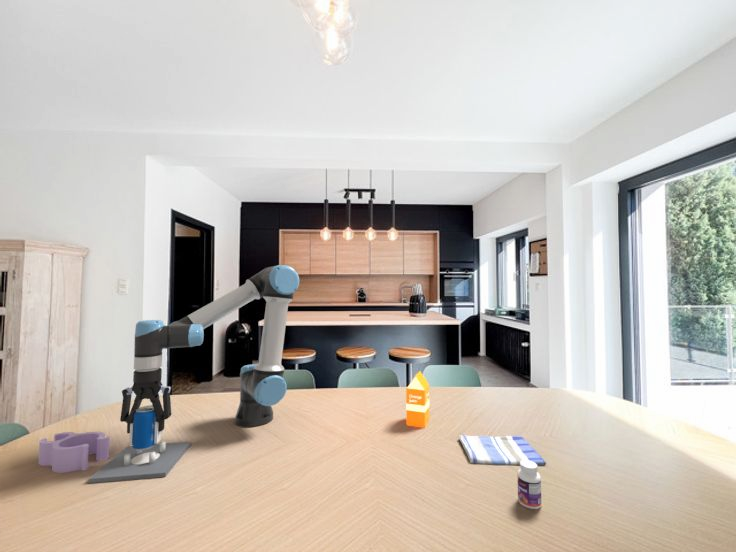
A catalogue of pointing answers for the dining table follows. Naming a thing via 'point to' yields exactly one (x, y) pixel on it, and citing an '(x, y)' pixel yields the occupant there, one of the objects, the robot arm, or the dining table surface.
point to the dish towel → (499, 450)
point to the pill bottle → (529, 485)
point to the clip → (73, 450)
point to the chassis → (141, 463)
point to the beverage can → (144, 428)
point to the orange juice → (417, 401)
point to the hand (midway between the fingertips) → (145, 442)
